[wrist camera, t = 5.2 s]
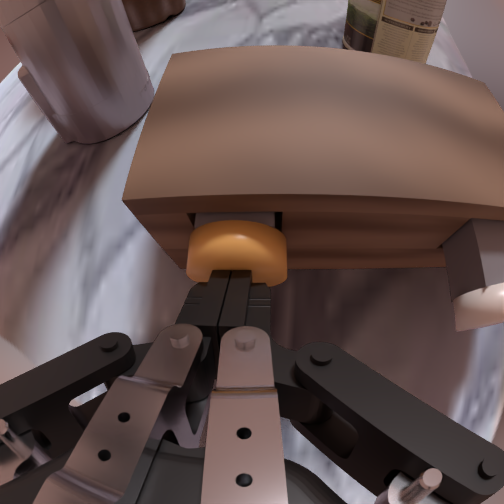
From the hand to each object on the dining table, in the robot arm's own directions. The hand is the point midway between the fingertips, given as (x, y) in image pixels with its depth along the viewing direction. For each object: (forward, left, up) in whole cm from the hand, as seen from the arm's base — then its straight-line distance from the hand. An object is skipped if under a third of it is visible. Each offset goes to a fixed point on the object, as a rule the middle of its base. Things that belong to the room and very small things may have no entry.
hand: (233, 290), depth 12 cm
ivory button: (+12, -1, -2) cm, 12 cm away
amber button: (+1, +4, -2) cm, 4 cm away
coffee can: (+20, +25, -5) cm, 33 cm away
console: (+7, +6, -5) cm, 11 cm away
